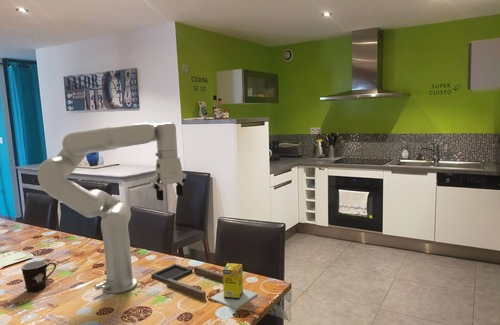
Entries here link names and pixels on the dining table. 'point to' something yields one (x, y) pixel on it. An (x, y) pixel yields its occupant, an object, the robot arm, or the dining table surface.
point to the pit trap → (171, 273)
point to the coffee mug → (35, 275)
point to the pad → (234, 302)
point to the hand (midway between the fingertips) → (170, 197)
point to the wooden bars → (192, 290)
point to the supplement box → (232, 281)
